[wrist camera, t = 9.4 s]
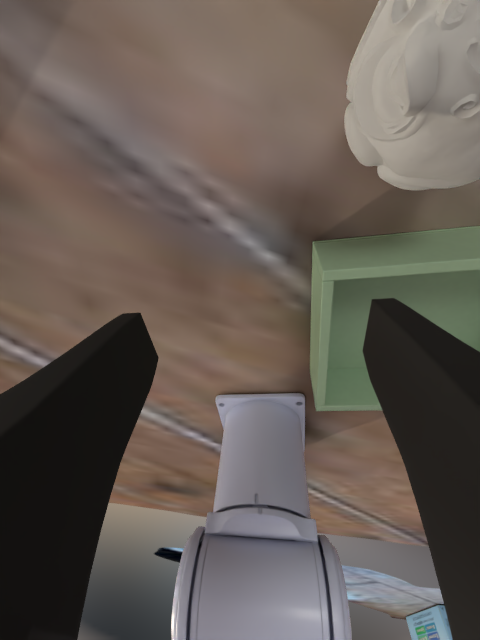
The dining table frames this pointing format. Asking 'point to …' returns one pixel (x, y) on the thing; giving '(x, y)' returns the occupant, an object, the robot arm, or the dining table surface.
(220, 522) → the robot arm
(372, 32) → the cream rounded lump
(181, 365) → the dining table surface
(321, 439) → the dining table surface
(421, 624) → the gum box
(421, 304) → the tote
